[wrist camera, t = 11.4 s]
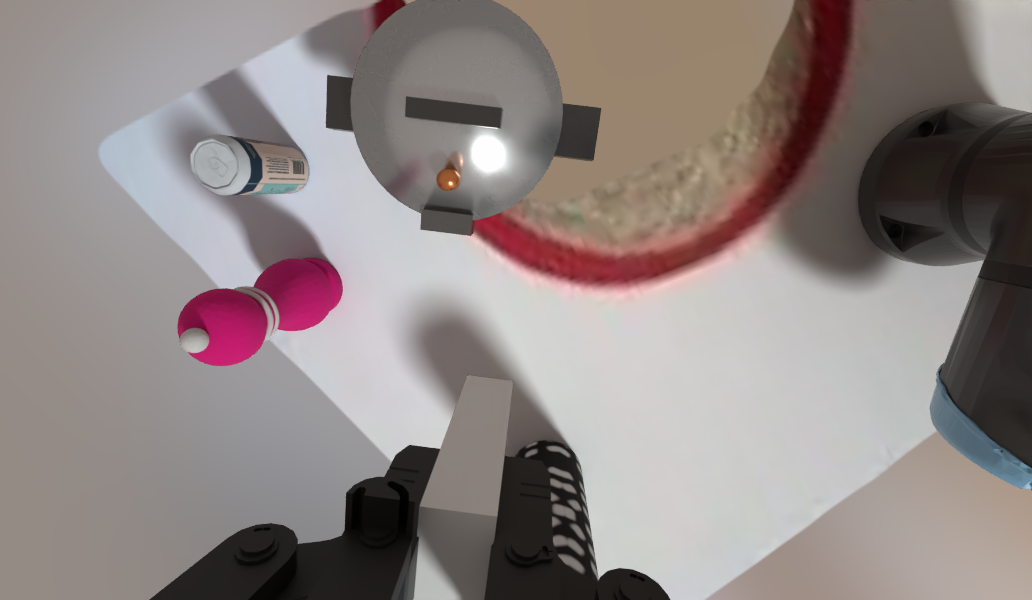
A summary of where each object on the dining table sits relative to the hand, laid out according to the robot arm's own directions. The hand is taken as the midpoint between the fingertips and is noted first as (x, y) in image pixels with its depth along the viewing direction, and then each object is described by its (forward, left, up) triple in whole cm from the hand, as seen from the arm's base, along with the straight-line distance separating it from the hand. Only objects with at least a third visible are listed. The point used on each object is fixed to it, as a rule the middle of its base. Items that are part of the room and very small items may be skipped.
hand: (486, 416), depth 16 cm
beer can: (+25, -6, -37) cm, 45 cm away
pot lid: (+6, -12, -25) cm, 28 cm away
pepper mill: (+22, +6, -37) cm, 43 cm away
